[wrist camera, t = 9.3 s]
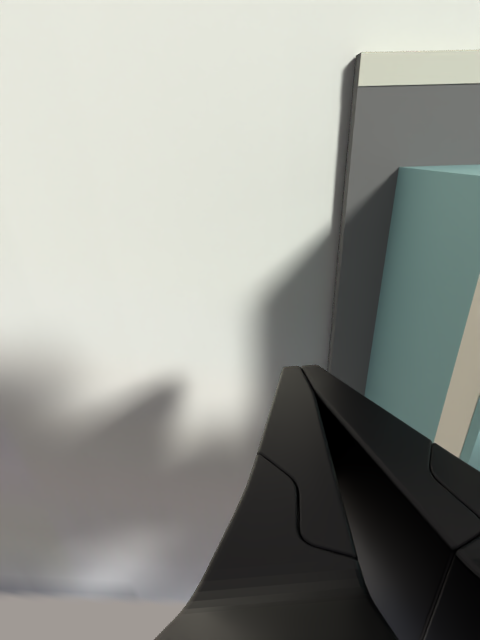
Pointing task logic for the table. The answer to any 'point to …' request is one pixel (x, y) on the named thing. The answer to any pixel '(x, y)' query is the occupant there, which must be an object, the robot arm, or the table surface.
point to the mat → (393, 174)
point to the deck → (432, 309)
